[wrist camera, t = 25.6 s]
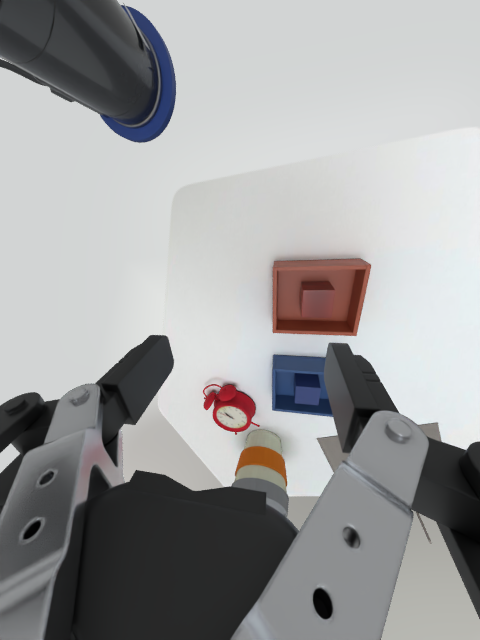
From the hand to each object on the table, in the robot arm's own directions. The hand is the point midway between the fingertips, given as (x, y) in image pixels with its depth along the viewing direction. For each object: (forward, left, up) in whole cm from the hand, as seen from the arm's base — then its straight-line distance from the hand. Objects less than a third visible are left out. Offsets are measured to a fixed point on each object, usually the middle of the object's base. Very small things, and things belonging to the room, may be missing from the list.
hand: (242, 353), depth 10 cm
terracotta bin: (+7, -7, -27) cm, 29 cm away
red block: (+7, -7, -27) cm, 29 cm away
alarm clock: (-10, -35, -28) cm, 45 cm away
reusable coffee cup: (-2, -49, -28) cm, 56 cm away
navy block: (+7, -26, -27) cm, 38 cm away
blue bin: (+7, -26, -27) cm, 38 cm away
